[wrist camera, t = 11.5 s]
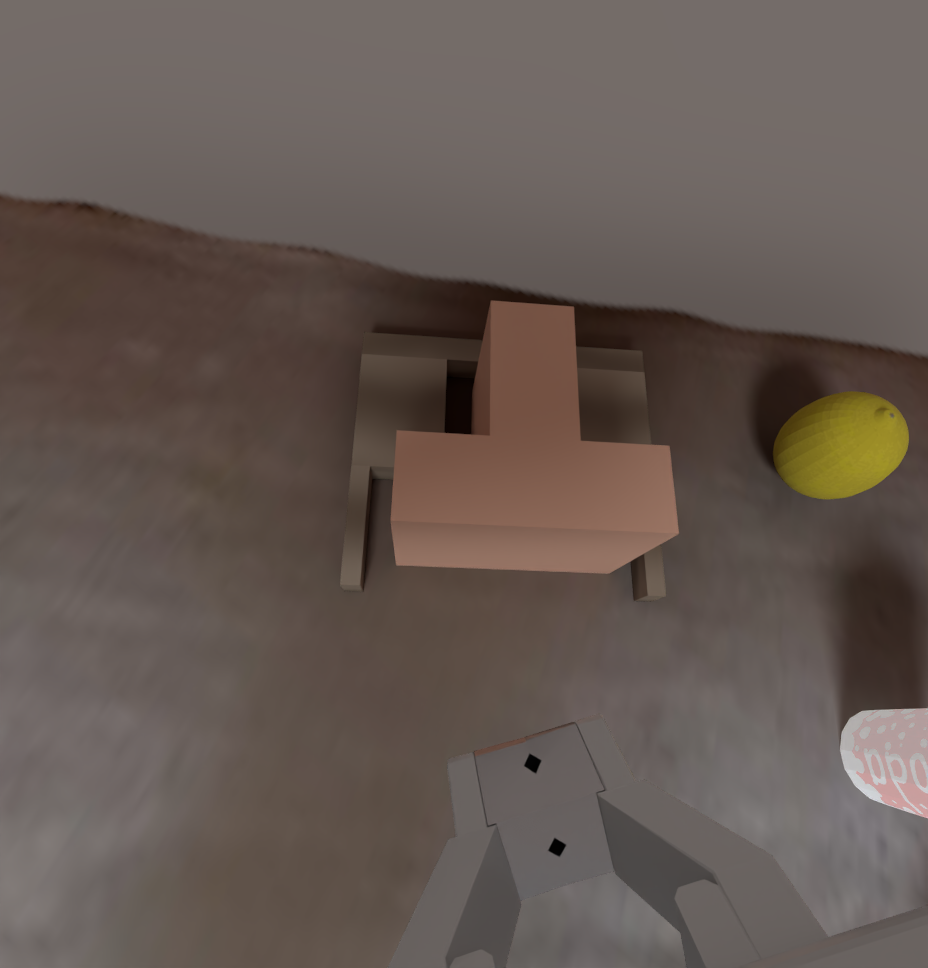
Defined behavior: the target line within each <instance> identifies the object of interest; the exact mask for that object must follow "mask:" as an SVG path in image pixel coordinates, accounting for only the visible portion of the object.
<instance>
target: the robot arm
mask: <svg viewBox="0 0 928 968" xmlns="http://www.w3.org/2000/svg"><path fill="white" fill-rule="evenodd" d="M447 769H448V777H449V785H450V793H451V801H452V809H453V817H454V825H455V833H456V837H454V838H451V839H448V841H447V843H446V845H445V847H444V849H443V852H442V854H441V856H440V858H439V860H438V862H437V864H436V866H435V868H434V871H433V873H432V875H431V877H430V879H429V881H428V883H427V885H426V888H425V890H424V892H423V894H422V896H421V898H420V900H419V902H418V904H417V907H416V909H415V911H414V913H413V915H412V917H411V919H410V921H409V924H408V926H407V928H406V930H405V932H404V934H403V936H402V938H401V940H400V943H399V945H398V947H397V949H396V951H395V953H394V955H393V957H392V960H391V962H390V964H389V966H388V968H505V967H506V963H507V959H508V955H509V951H510V947H511V943H512V939H513V935H514V931H515V927H516V924H517V920H518V916H519V912H520V908H521V902H520V901H522V900H525V899H527V898H530V897H533V896H536V895H539V894H542V893H545V892H548V891H550V890H553V889H556V888H559V887H562V886H565V885H568V884H572V883H575V882H579V881H582V880H586V879H589V878H593V877H597V876H600V875H604V874H607V873H611V872H615V874H616V875H617V876H618V877H619V878H620V879H621V880H622V881H624V882H625V883H626V884H627V885H628V886H629V887H630V888H631V889H632V890H634V891H635V892H636V893H637V894H638V895H639V896H640V897H641V898H642V899H644V900H645V901H646V902H647V903H648V904H649V905H650V906H651V907H652V908H653V909H655V910H656V911H657V912H658V913H659V914H660V915H661V916H662V917H663V918H665V919H666V920H667V921H668V922H669V923H670V924H671V925H672V926H673V927H675V928H676V929H677V930H678V931H679V932H680V933H681V939H682V945H683V950H684V956H685V962H686V968H928V905H927V906H924V907H921V908H917V909H914V910H911V911H908V912H905V913H902V914H899V915H896V916H893V917H890V918H886V919H883V920H880V921H877V922H874V923H871V924H868V925H865V926H862V927H859V928H855V929H852V930H849V931H846V932H843V933H840V934H837V935H834V936H831V937H828V936H827V934H826V933H825V931H824V930H823V928H822V927H821V925H820V924H819V923H818V921H817V920H816V918H815V917H814V915H813V914H812V912H811V911H810V909H809V908H808V907H807V905H806V904H805V902H804V901H803V899H802V898H801V896H800V895H799V893H798V892H797V891H796V889H795V888H794V886H793V885H792V883H791V882H790V880H789V879H788V877H787V876H786V875H785V873H784V872H783V870H782V869H781V867H780V866H779V864H778V863H777V861H776V860H775V859H774V857H773V856H772V855H771V854H769V853H767V852H766V851H764V850H762V849H761V848H759V847H757V846H756V845H754V844H752V843H751V842H749V841H747V840H745V839H744V838H742V837H740V836H739V835H737V834H735V833H734V832H732V831H730V830H729V829H727V828H725V827H724V826H722V825H720V824H719V823H717V822H715V821H714V820H712V819H710V818H709V817H707V816H705V815H703V814H702V813H700V812H698V811H697V810H695V809H693V808H692V807H690V806H688V805H687V804H685V803H683V802H682V801H680V800H678V799H677V798H675V797H673V796H672V795H670V794H668V793H666V792H665V791H663V790H661V789H660V788H658V787H656V786H655V785H653V784H651V783H650V782H648V781H646V780H645V779H644V780H640V781H637V782H636V780H635V778H634V776H633V774H632V772H631V770H630V768H629V766H628V764H627V762H626V760H625V758H624V756H623V754H622V752H621V751H620V749H619V747H618V745H617V743H616V741H615V739H614V737H613V735H612V733H611V731H610V729H609V727H608V725H607V723H606V721H605V719H604V718H603V716H602V715H600V714H596V715H593V716H590V717H586V718H583V719H580V720H577V721H575V722H571V723H568V724H565V725H561V726H558V727H555V728H552V729H549V730H545V731H542V732H539V733H536V734H533V735H529V736H526V737H524V738H520V739H517V740H513V741H509V742H506V743H502V744H499V745H495V746H491V747H488V748H484V749H480V750H477V751H474V752H472V753H468V754H464V755H461V756H457V757H453V758H449V759H448V763H447Z"/></svg>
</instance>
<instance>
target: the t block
mask: <svg viewBox="0 0 928 968" xmlns="http://www.w3.org/2000/svg"><path fill="white" fill-rule="evenodd" d="M391 528H392V536H393V544H394V552H395V560H396V565H404V566H430V567H455V568H480V569H506V570H531V571H556V572H582V573H607V574H609V573H611V572H613V571H614V570H616V569H618V568H620V567H621V566H623V565H625V564H627V563H628V562H630V561H632V560H634V559H635V558H637V557H639V556H641V555H642V554H644V553H646V552H648V551H649V550H651V549H653V548H655V547H656V546H658V545H660V544H662V543H663V542H665V541H667V540H669V539H670V538H672V537H674V536H676V535H677V534H679V530H678V521H677V511H676V502H675V493H674V484H673V474H672V465H671V456H670V446H664V445H646V444H629V443H611V442H594V441H581V437H580V417H579V397H578V378H577V358H576V338H575V319H574V307H571V306H558V305H544V304H531V303H517V302H504V301H491V302H490V307H489V312H488V317H487V322H486V327H485V332H484V336H483V341H482V346H481V351H480V356H479V361H478V366H477V370H476V375H475V380H474V385H473V390H472V415H471V435H470V434H453V433H435V432H418V431H400V430H397V434H396V448H395V463H394V478H393V492H392V507H391Z"/></svg>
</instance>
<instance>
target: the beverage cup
mask: <svg viewBox="0 0 928 968" xmlns="http://www.w3.org/2000/svg"><path fill="white" fill-rule="evenodd" d="M840 752H841V756H842V760H843V764H844V768H845V770H846V772H847V773H848V775H849V777H850V778H851V780H852V781H853V783H854V785H855V786H856V787H857V788H858V789H860V790H861V791H862V792H863V793H864V794H865V795H866V796H868V797H869V798H870V799H873V800H875V801H878V802H881V803H883V804H886V805H889V806H892V807H895V808H898V809H901V810H904V811H907V812H910V813H913V814H916V815H919V816H922V817H925V818H928V708H920V709H891V710H869V711H861V712H859V713H858V714H856V715H855V716H853V717H851V718H850V719H849V720H848V722H847V724H846V726H845V727H844V729H843V731H842V735H841V744H840Z"/></svg>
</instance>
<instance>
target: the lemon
mask: <svg viewBox="0 0 928 968" xmlns="http://www.w3.org/2000/svg"><path fill="white" fill-rule="evenodd" d="M908 442H909V435H908V428H907V425H906V422H905V419H904V418H903V416H902V414H901V413H900V412H899V411H898V409H897V408H896V407H895V406H893V405H892V404H891V403H890V402H888V401H887V400H885V399H883V398H881V397H879V396H876V395H873V394H869V393H865V392H843V393H838V394H833V395H829V396H826V397H823V398H821V399H818V400H816V401H814V402H812V403H810V404H809V405H807V406H805V407H803V408H802V409H800V410H799V411H797V412H796V413H795V414H794V415H793V416H792V417H791V418H790V419H789V420H788V421H787V422H786V423H785V424H784V425H783V426H782V428H781V429H780V431H779V433H778V435H777V437H776V440H775V442H774V449H773V459H774V465H775V467H776V470H777V472H778V474H779V475H780V477H781V478H782V480H783V481H784V482H785V483H786V484H787V485H788V486H789V487H791V488H792V489H794V490H795V491H797V492H798V493H801V494H803V495H806V496H809V497H813V498H819V499H837V498H845V497H849V496H853V495H855V494H858V493H860V492H863V491H865V490H868V489H870V488H872V487H873V486H875V485H877V484H878V483H879V482H881V481H882V480H883V479H884V478H886V477H887V476H888V475H889V474H890V473H891V472H893V471H894V470H895V469H896V468H897V466H898V465H899V464H900V462H901V461H902V459H903V457H904V455H905V454H906V451H907V447H908Z"/></svg>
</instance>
